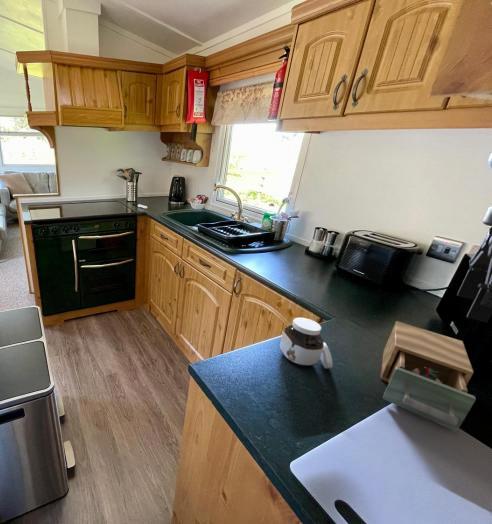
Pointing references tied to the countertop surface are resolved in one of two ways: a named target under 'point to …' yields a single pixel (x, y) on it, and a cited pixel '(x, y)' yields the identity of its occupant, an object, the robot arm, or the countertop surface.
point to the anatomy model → (426, 374)
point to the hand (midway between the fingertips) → (470, 307)
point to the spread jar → (305, 344)
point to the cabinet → (425, 349)
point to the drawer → (429, 390)
